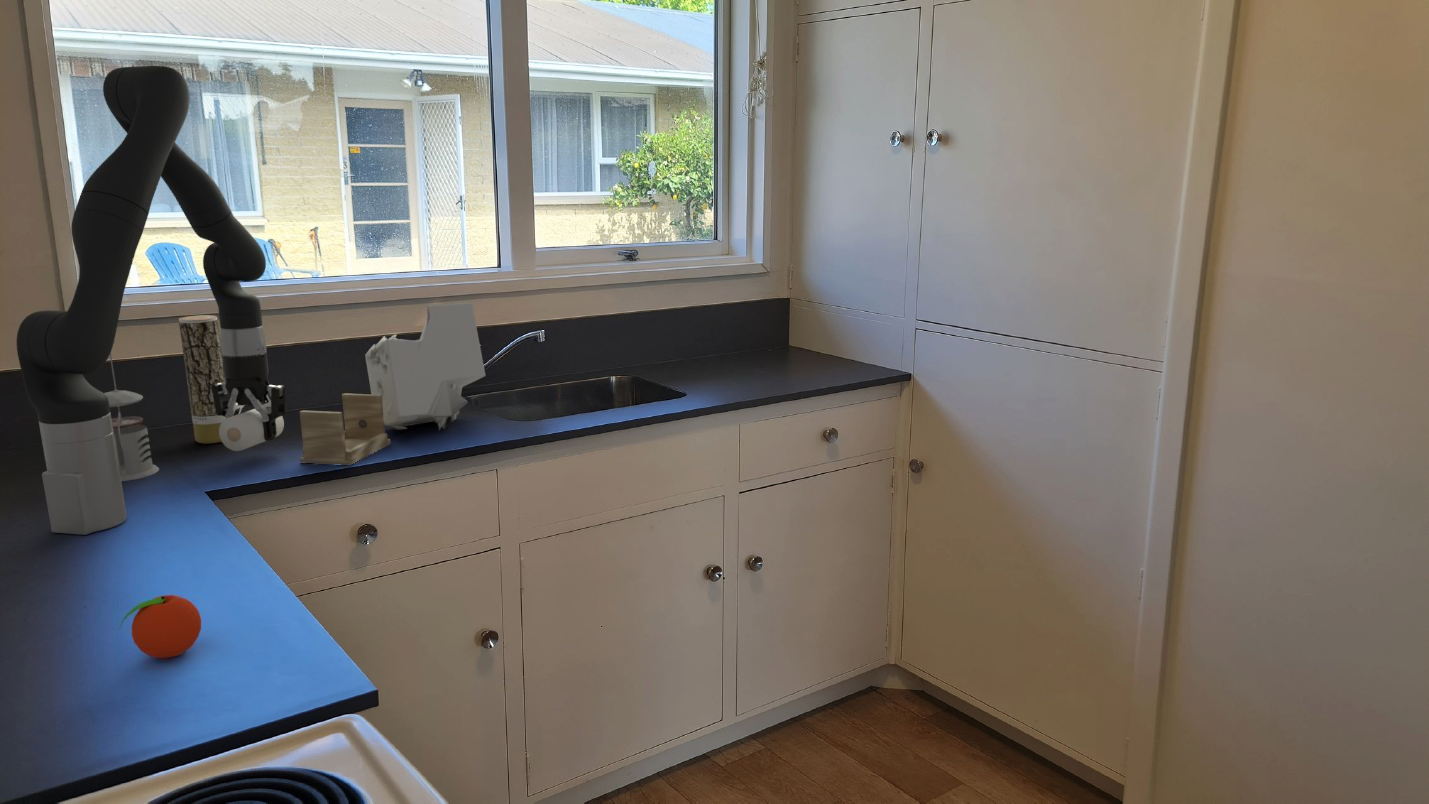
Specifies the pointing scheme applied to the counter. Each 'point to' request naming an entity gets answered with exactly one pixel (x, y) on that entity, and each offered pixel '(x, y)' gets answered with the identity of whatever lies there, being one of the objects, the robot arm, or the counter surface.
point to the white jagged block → (427, 368)
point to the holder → (337, 445)
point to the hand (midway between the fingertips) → (253, 438)
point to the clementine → (165, 626)
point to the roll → (245, 430)
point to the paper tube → (203, 373)
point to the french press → (130, 437)
